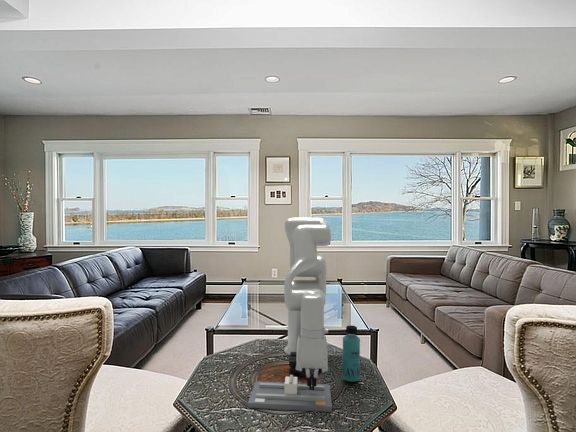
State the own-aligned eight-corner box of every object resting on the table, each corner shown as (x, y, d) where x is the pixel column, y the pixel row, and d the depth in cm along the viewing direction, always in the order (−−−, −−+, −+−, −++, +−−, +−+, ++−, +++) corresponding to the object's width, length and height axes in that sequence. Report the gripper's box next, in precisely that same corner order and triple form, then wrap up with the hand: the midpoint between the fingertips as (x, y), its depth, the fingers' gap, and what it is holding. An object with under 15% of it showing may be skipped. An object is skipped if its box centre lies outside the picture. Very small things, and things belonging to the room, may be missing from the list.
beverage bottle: (337, 380, 126) (338, 326, 126) (349, 375, 130) (350, 322, 130) (352, 387, 121) (352, 330, 121) (363, 382, 125) (364, 326, 125)
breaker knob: (285, 388, 116) (285, 374, 116) (297, 388, 116) (297, 375, 116) (284, 395, 111) (284, 381, 111) (296, 396, 111) (296, 382, 111)
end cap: (308, 378, 127) (308, 360, 127) (288, 377, 128) (289, 359, 128) (308, 367, 137) (308, 350, 137) (290, 366, 138) (290, 349, 138)
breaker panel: (255, 385, 122) (255, 378, 122) (329, 388, 120) (329, 381, 120) (248, 407, 108) (248, 399, 108) (331, 411, 106) (332, 403, 106)
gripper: (334, 329, 117) (333, 383, 117) (290, 327, 118) (289, 381, 118) (336, 337, 109) (335, 395, 109) (288, 335, 110) (288, 393, 110)
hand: (311, 388), depth 113 cm, fingers closed
